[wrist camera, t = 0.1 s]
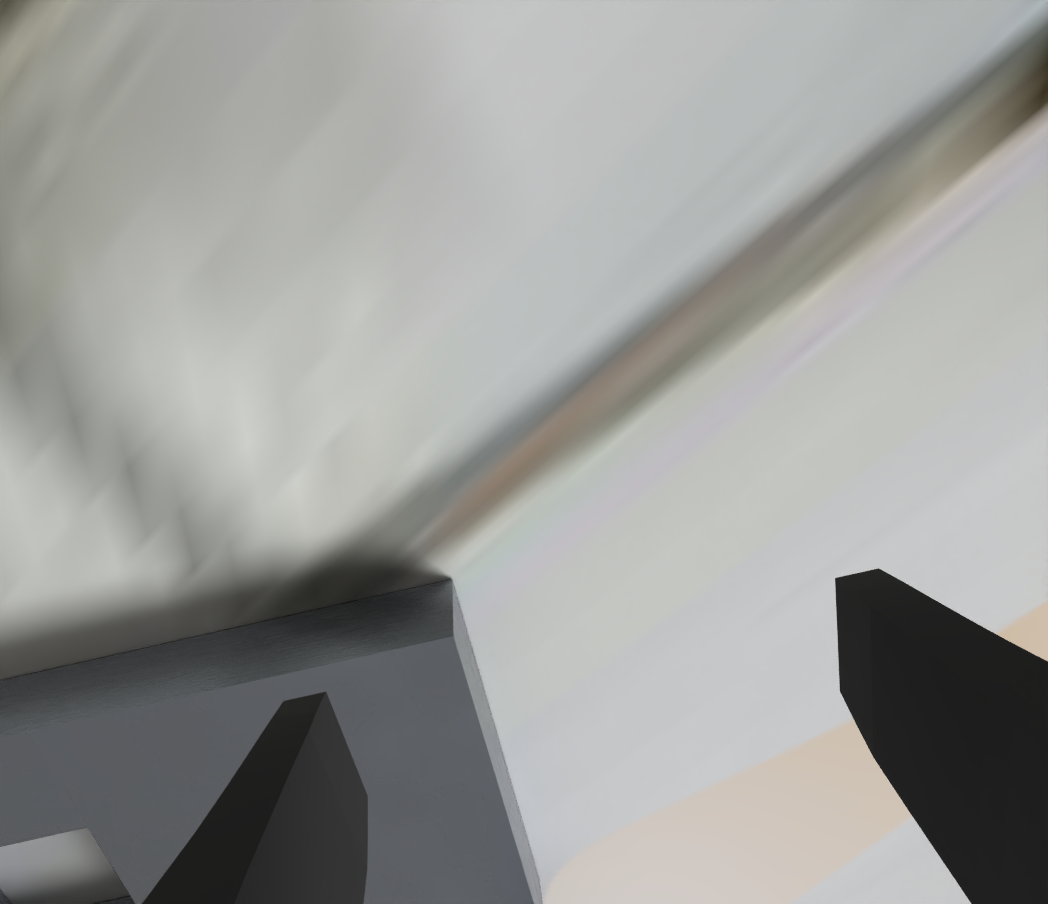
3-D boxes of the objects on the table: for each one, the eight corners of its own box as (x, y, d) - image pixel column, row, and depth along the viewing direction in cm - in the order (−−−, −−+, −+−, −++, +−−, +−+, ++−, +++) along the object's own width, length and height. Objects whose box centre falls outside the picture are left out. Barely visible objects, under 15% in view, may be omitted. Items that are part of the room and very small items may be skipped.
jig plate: (539, 879, 27) (548, 951, 24) (0, 1000, 27) (-39, 1082, 24) (452, 579, 21) (453, 636, 19) (-217, 729, 22) (-290, 802, 19)
